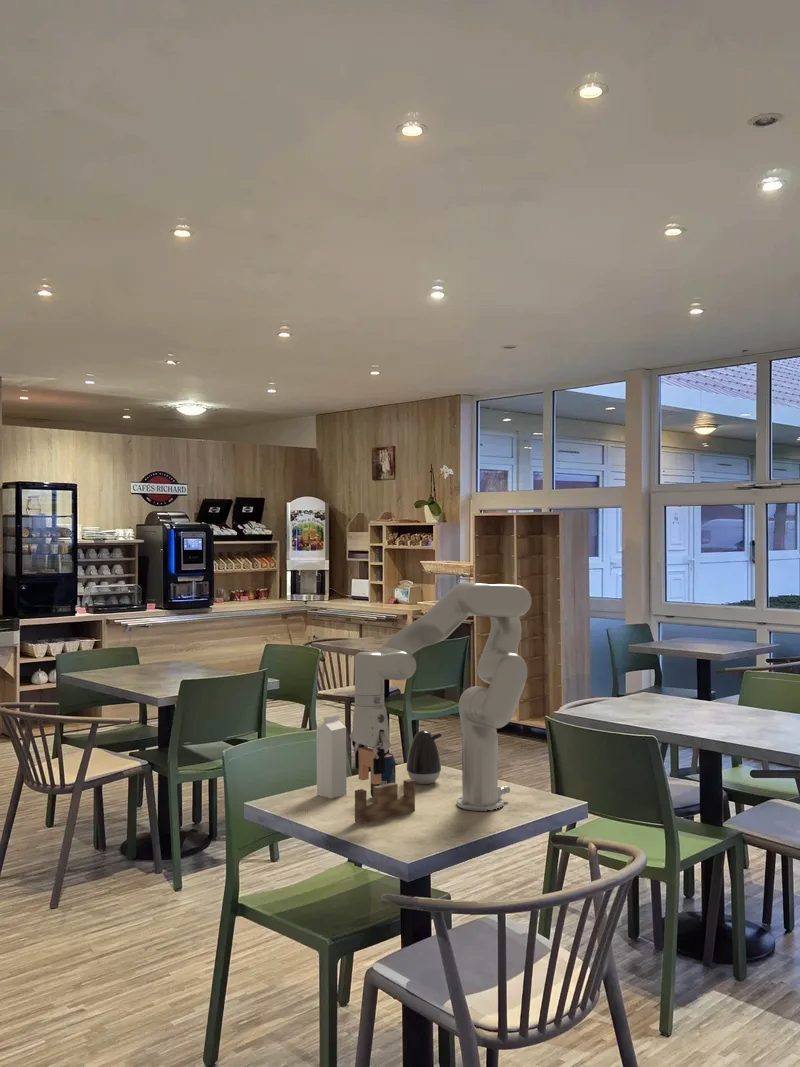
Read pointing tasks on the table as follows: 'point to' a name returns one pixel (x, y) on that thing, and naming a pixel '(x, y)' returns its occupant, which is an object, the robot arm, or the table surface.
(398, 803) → the walnut e-shaped block
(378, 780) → the slotted plate
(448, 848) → the table surface
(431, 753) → the pump dispenser
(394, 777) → the soda can
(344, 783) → the milk
